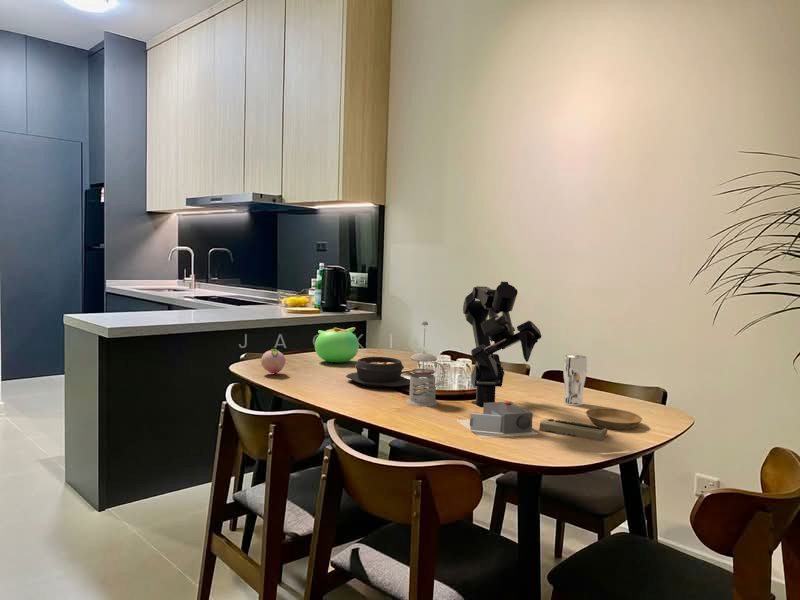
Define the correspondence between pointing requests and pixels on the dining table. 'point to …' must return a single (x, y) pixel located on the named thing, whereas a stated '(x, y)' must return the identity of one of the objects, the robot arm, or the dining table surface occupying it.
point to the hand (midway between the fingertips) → (511, 368)
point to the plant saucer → (613, 418)
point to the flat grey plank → (573, 429)
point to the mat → (492, 434)
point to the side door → (486, 422)
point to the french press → (423, 380)
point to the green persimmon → (337, 345)
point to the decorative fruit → (273, 361)
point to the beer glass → (574, 379)
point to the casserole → (379, 372)
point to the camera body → (510, 416)
